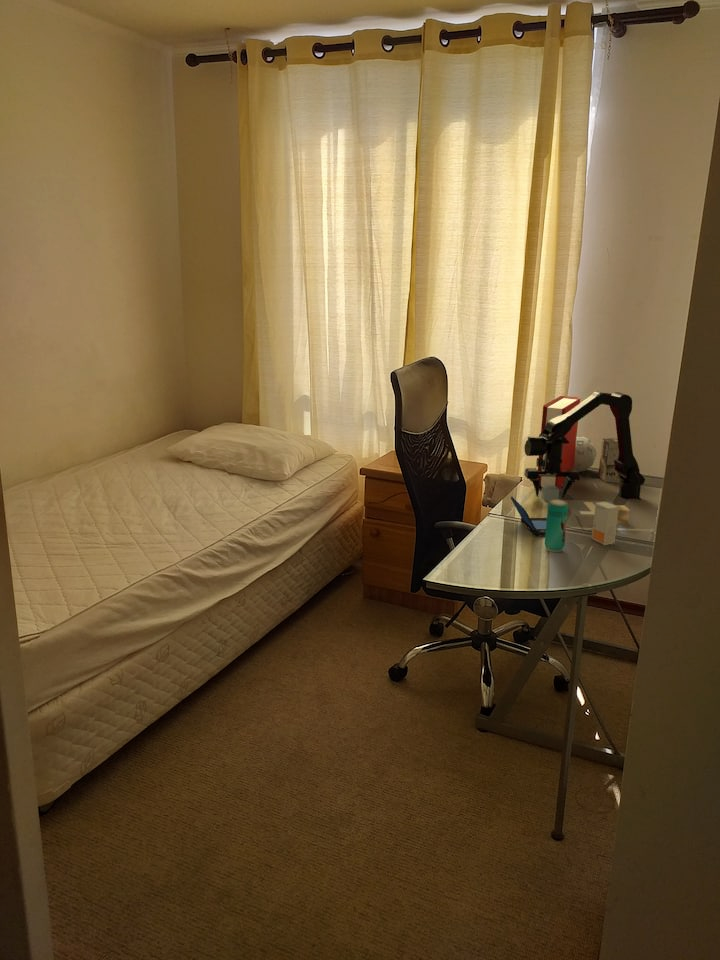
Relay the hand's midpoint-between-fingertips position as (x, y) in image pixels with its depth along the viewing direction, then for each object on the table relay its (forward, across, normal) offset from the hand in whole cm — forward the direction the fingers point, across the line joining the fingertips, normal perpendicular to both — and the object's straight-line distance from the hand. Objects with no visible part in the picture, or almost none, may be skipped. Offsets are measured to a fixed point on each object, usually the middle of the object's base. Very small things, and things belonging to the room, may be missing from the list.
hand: (549, 496), depth 270 cm
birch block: (+2, -17, +24) cm, 29 cm away
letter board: (+1, -13, +10) cm, 16 cm away
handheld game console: (+2, +12, +31) cm, 33 cm away
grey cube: (+2, 0, 0) cm, 2 cm away
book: (+2, -8, -27) cm, 28 cm away
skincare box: (+2, -7, +42) cm, 43 cm away
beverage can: (+2, +10, +50) cm, 51 cm away
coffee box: (+2, -31, -31) cm, 44 cm away
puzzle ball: (+2, -20, -43) cm, 47 cm away
